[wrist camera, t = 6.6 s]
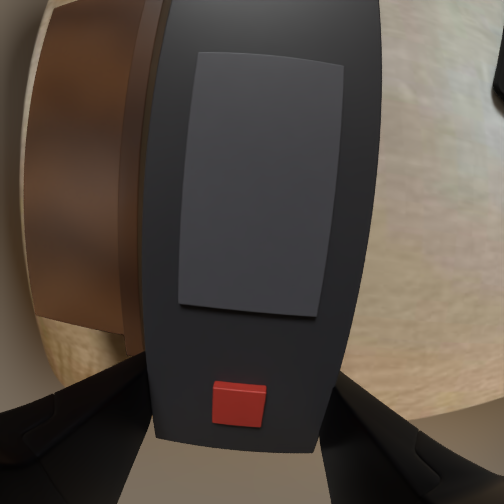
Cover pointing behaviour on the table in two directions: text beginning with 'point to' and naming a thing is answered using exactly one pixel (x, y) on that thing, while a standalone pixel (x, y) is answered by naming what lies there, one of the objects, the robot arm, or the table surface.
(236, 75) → the remote
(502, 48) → the smartphone
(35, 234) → the shelf
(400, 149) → the table surface
